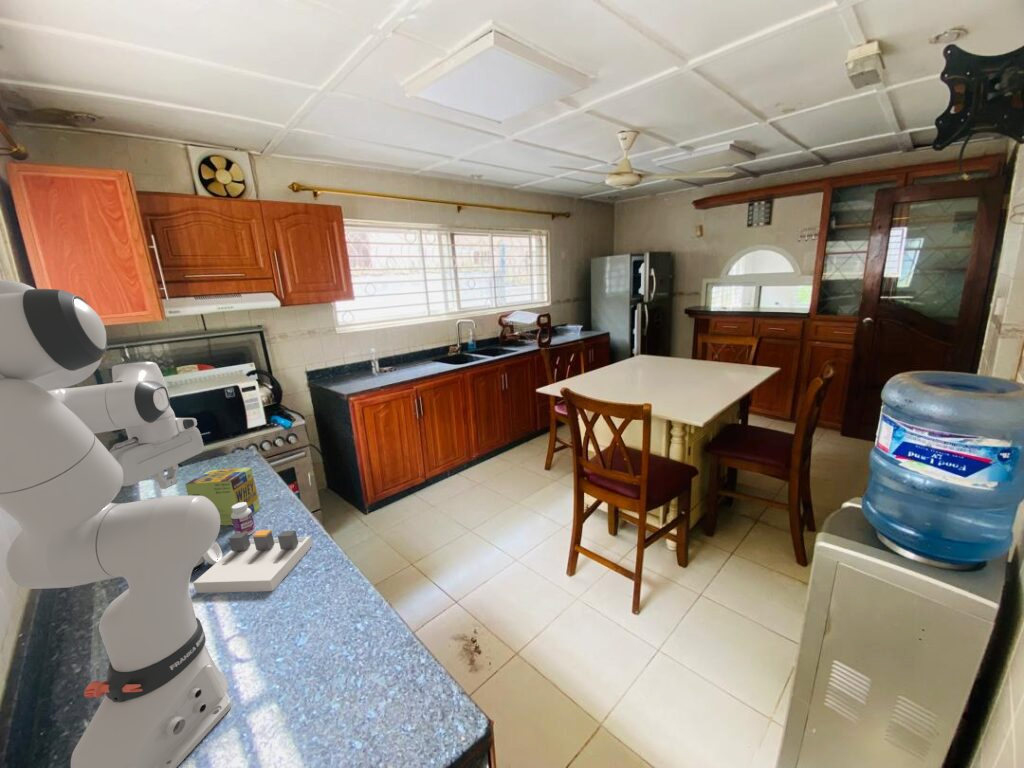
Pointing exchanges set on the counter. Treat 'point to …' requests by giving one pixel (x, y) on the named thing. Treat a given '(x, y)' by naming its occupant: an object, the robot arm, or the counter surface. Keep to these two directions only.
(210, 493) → the protein box
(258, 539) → the breaker
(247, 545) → the left breaker
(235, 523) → the pill bottle
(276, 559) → the box
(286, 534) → the block
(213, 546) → the spread jar
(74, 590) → the counter surface
